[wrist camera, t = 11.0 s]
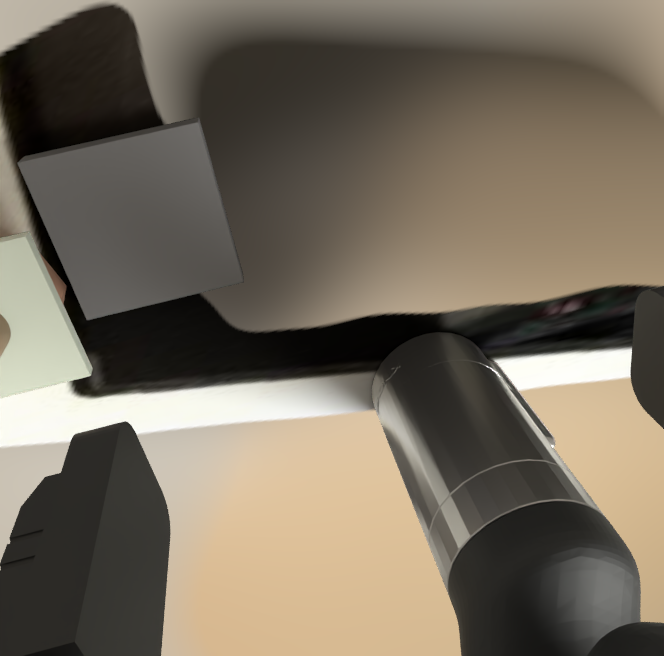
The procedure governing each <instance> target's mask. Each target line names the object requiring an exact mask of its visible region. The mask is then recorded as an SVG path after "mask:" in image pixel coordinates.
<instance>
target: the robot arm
mask: <svg viewBox="0 0 664 656" xmlns="http://www.w3.org/2000/svg"><path fill="white" fill-rule="evenodd" d="M631 381H632V386H633V390H634V392H635V395H636V397H637V399H638V401H639V403H640V404H641V406H642V407H643V408H644V409H645V411H646V412H647V413H648V414H649V415H650V416H651V417H652V418H653V419H654V420H655V421H656V422H657V423H658V424H659V425H660V426H661V427H663V429H664V286H662V287H658V288H654V289H650V290H646V291H643V292H642V293H641V294H640V295H639V296H638V298H637V301H636V306H635V318H634V332H633V346H632V360H631ZM372 399H373V404H374V407H375V410H376V412H377V415H378V417H379V420H380V422H381V425H382V427H383V430H384V432H385V435H386V438H387V440H388V443H389V446H390V448H391V451H392V453H393V456H394V458H395V461H396V463H397V466H398V468H399V471H400V474H401V476H402V478H403V481H404V484H405V486H406V489H407V491H408V494H409V496H410V499H411V501H412V504H413V506H414V509H415V511H416V514H417V517H418V519H419V522H420V524H421V526H422V529H423V532H424V534H425V537H426V539H427V542H428V544H429V547H430V549H431V552H432V554H433V557H434V559H435V561H436V564H437V567H438V569H439V572H440V574H441V577H442V579H443V582H444V584H445V587H446V589H447V592H448V595H449V597H450V600H451V602H452V605H453V607H454V610H455V613H456V616H457V619H458V624H459V632H460V643H461V655H462V656H664V623H654V622H640V594H641V591H640V577H639V573H638V568H637V565H636V562H635V560H634V558H633V556H632V554H631V552H630V550H629V549H628V547H627V546H626V544H625V543H624V541H623V540H622V539H621V537H620V536H619V534H618V533H617V532H616V530H615V529H614V528H613V526H612V525H611V524H610V522H609V521H608V520H607V519H606V517H605V516H604V515H603V513H602V512H601V511H600V509H599V508H598V507H597V505H596V504H595V503H594V501H593V500H592V498H591V497H590V496H589V494H588V493H587V492H586V491H585V489H584V488H583V487H582V485H581V484H580V482H579V481H578V480H577V479H576V477H575V476H574V475H573V473H572V472H571V471H570V469H569V468H568V467H567V466H566V464H565V463H564V461H563V460H562V459H561V458H560V456H559V455H558V453H557V452H556V451H555V449H554V447H555V439H554V437H553V435H552V434H551V433H550V431H549V430H548V429H547V427H546V426H545V425H544V423H543V422H542V421H541V420H540V418H539V417H538V416H537V414H536V413H535V412H534V411H533V409H532V408H531V406H530V405H529V404H528V403H527V401H526V400H525V399H524V397H523V396H522V395H521V393H520V392H519V391H518V390H517V388H516V387H515V386H514V384H513V383H512V382H511V380H510V379H509V378H508V376H507V375H506V374H505V373H504V371H503V370H502V369H501V367H500V366H499V365H498V363H496V362H492V361H489V360H488V359H487V358H486V357H485V355H484V354H483V353H482V351H481V350H480V349H479V348H478V347H477V346H476V345H475V344H474V343H473V342H472V341H470V340H469V339H467V338H465V337H463V336H460V335H457V334H453V333H443V332H436V333H429V334H424V335H421V336H418V337H415V338H412V339H410V340H408V341H407V342H405V343H403V344H401V345H400V346H398V347H397V348H396V349H395V350H393V351H392V352H391V353H390V354H389V355H388V356H387V357H386V359H385V360H384V361H383V362H382V363H381V365H380V367H379V369H378V370H377V372H376V374H375V378H374V381H373V384H372ZM10 541H11V542H10V544H7V547H6V549H5V552H4V554H3V557H2V560H1V563H0V566H1V570H0V656H161V648H162V635H163V622H164V609H165V596H166V583H167V571H168V558H169V544H170V520H169V514H168V509H167V504H166V501H165V498H164V495H163V493H162V490H161V488H160V486H159V484H158V481H157V479H156V477H155V475H154V473H153V470H152V468H151V466H150V464H149V462H148V459H147V458H146V455H145V453H144V451H143V448H142V446H141V444H140V442H139V440H138V438H137V435H136V433H135V431H134V429H133V428H132V426H131V425H130V424H129V423H128V422H121V423H117V424H113V425H109V426H105V427H102V428H98V429H94V430H90V431H86V432H82V433H78V434H75V435H74V436H73V438H72V440H71V442H70V446H69V449H68V452H67V455H66V458H65V462H64V465H63V468H62V471H61V473H59V474H55V475H51V476H47V477H45V478H44V479H43V480H42V482H41V483H40V484H39V485H38V486H37V488H36V489H35V490H34V492H33V493H32V494H31V495H30V496H29V498H28V499H27V500H26V501H25V503H24V504H23V505H22V506H21V508H20V511H19V514H18V517H17V519H16V522H15V525H14V527H13V530H12V533H11V535H10Z"/></svg>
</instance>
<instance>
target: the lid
mask: <svg viewBox="0 0 664 656" xmlns="http://www.w3.org/2000/svg"><path fill="white" fill-rule="evenodd" d="M92 369H93V368H92V366H91V364H90V362H89V360H88V357H87V355H86V353H85V351H84V349H83V347H82V344H81V342H80V340H79V338H78V336H77V334H76V331H75V329H74V327H73V325H72V323H71V321H70V318H69V316H68V314H67V312H66V310H65V308H64V305H63V303H62V301H61V299H60V297H59V295H58V292H57V290H56V288H55V286H54V284H53V282H52V279H51V277H50V275H49V273H48V271H47V269H46V266H45V264H44V262H43V260H42V258H41V256H40V253H39V251H38V249H37V247H36V245H35V243H34V240H33V238H32V236H31V234H30V232H29V231H28V232H24V233H20V234H15V235H11V236H7V237H2V238H0V398H4V397H8V396H12V395H16V394H20V393H24V392H28V391H32V390H36V389H40V388H44V387H48V386H52V385H56V384H60V383H64V382H68V381H72V380H76V379H80V378H84V377H88V376H91V373H92Z"/></svg>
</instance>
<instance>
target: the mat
mask: <svg viewBox="0 0 664 656" xmlns="http://www.w3.org/2000/svg"><path fill="white" fill-rule="evenodd" d="M17 164H18V166H19V168H20V170H21V173H22V175H23V177H24V179H25V182H26V184H27V186H28V188H29V191H30V193H31V195H32V197H33V200H34V202H35V204H36V206H37V209H38V211H39V213H40V215H41V218H42V220H43V222H44V224H45V227H46V229H47V231H48V233H49V236H50V238H51V240H52V242H53V245H54V247H55V249H56V251H57V254H58V256H59V258H60V260H61V263H62V265H63V267H64V269H65V272H66V274H67V276H68V278H69V281H70V283H71V285H72V287H73V290H74V292H75V294H76V296H77V299H78V301H79V303H80V305H81V308H82V310H83V312H84V314H85V317H86V319H87V320H90V319H94V318H99V317H103V316H107V315H111V314H115V313H119V312H123V311H127V310H132V309H136V308H140V307H144V306H148V305H152V304H156V303H160V302H165V301H169V300H173V299H177V298H181V297H185V296H189V295H193V294H198V293H202V292H206V291H210V290H214V289H218V288H222V287H226V286H231V285H235V284H239V283H243V282H244V278H243V272H242V269H241V265H240V261H239V258H238V254H237V250H236V247H235V243H234V240H233V236H232V233H231V230H230V226H229V222H228V219H227V216H226V212H225V208H224V205H223V201H222V197H221V194H220V190H219V187H218V183H217V180H216V177H215V173H214V169H213V166H212V162H211V159H210V155H209V151H208V148H207V144H206V141H205V137H204V134H203V130H202V127H201V123H200V120H199V118H198V117H197V118H193V119H189V120H184V121H180V122H175V123H171V124H166V125H162V126H157V127H153V128H149V129H144V130H140V131H135V132H131V133H126V134H122V135H117V136H113V137H109V138H104V139H100V140H95V141H91V142H86V143H82V144H77V145H73V146H69V147H64V148H60V149H55V150H51V151H46V152H42V153H37V154H33V155H29V156H24V157H23V158H22V159H21V160H20V161H19V162H18V163H17Z"/></svg>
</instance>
